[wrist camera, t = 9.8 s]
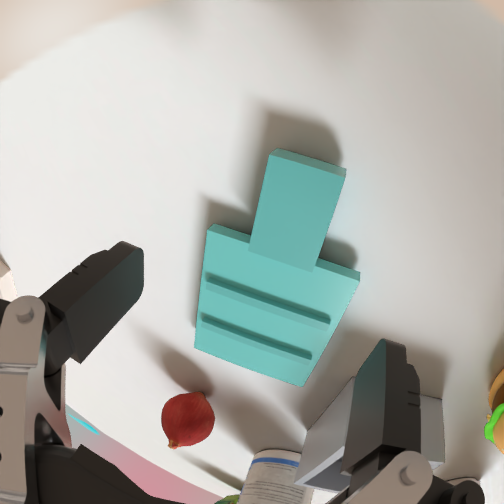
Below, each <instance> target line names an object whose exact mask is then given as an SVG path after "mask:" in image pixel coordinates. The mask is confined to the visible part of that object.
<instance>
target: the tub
mask: <svg viewBox="0 0 504 504" xmlns="http://www.w3.org/2000/svg"><path fill="white" fill-rule="evenodd" d="M355 379H356V377H352V378H351V380H350V381H349V382H348V383H347V385H346V386H345V387H344V388H343V390H342V391H341V392H340V394H339V395H338V396H337V397H336V398H335V400H334V401H333V402H332V403H331V405H330V406H329V407H328V408H327V409H326V411H325V412H324V413H323V414H322V415H321V416H320V418H319V419H318V420H317V421H316V422H315V423H314V424H313V426H312V427H311V428H310V429H309V430H308V431H307V435H306V439H305V443H304V447H303V450H302V454H301V458H300V462H299V465H298V469H297V472H296V476H295V479H294V483H293V484H296V485H301V486H305V487H309V488H314V489H318V490H323V491H328V492H333V493H340V492H341V491H342V490H343V489H344V488H346V487H347V486H348V485H350V480H351V476H348V475H343V474H340V470H341V465H342V462H335V461H337V460H338V459H339V458H341V457H342V456H343V454H344V449H345V443H346V437H347V431H348V425H349V418H350V411H351V404H352V396H353V388H354V382H355ZM419 397H420V403H421V406H420V408H421V454H422V455H423V456H424V457H425V458H426V459H427V460H428V462H429V463H430V465H431V468H432V470H433V469H435V468H437V467H438V466H440V465H442V464H443V463H445V442H444V422H443V408H442V399H438V398H433V397H429V396H424V395H419Z"/></svg>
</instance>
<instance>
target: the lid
mask: <svg viewBox="0 0 504 504" xmlns="http://www.w3.org/2000/svg"><path fill="white" fill-rule="evenodd" d="M345 175H346V169H345V168H342V167H339V166H336V165H333V164H330V163H327V162H323V161H320V160H317V159H314V158H311V157H307V156H304V155H301V154H297V153H294V152H290V151H287V150H283V149H280V148H276V149H275V150H274V151H273V152H272V153H270V154H269V158H268V162H267V167H266V171H265V176H264V180H263V185H262V189H261V194H260V198H259V203H258V207H257V212H256V216H255V221H254V225H253V230H252V234H251V235H248V234H245V233H242V232H239V231H236V230H233V229H230V228H226V227H223V226H220V225H217V224H214V223H213V225H212V226H211V227H210V228H209V229H208V230H207V237H206V244H205V252H204V260H203V268H202V277H201V285H200V294H199V303H198V313H197V323H196V333H195V343H194V348H196V349H198V350H201V351H203V352H206V353H208V354H211V355H213V356H216V357H218V358H221V359H223V360H226V361H228V362H231V363H234V364H236V365H239V366H242V367H244V368H247V369H250V370H253V371H255V372H258V373H261V374H264V375H267V376H270V377H272V378H275V379H278V380H281V381H284V382H287V383H290V384H294V385H297V386H300V387H303V385H304V384H305V382H306V380H307V379H308V377H309V375H310V374H311V372H312V370H313V369H314V367H315V365H316V363H317V362H318V360H319V358H320V356H321V355H322V353H323V351H324V349H325V347H326V346H327V344H328V342H329V340H330V338H331V337H332V335H333V333H334V331H335V329H336V327H337V325H338V323H339V322H340V320H341V318H342V316H343V314H344V312H345V310H346V308H347V306H348V304H349V302H350V300H351V298H352V296H353V294H354V292H355V290H356V288H357V286H358V284H359V282H360V272H358V271H355V270H352V269H349V268H346V267H343V266H340V265H337V264H334V263H331V262H328V261H326V260H323V259H320V258H318V256H319V253H320V250H321V247H322V245H323V242H324V239H325V236H326V233H327V231H328V228H329V225H330V222H331V219H332V216H333V213H334V210H335V207H336V204H337V201H338V198H339V195H340V192H341V189H342V186H343V183H344V180H345Z"/></svg>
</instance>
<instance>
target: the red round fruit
mask: <svg viewBox="0 0 504 504" xmlns="http://www.w3.org/2000/svg"><path fill="white" fill-rule="evenodd" d="M214 421H215V416H214V412H213V410H212V408H211V406H210V404H209V402H208V401H207V399H206V397H205V395H204V394H203V393H201V392H193V393H185V394H179V395H177V396H175V397H173V398H171V399H169V400H168V401H167V402H166V403H165V405H164V407H163V409H162V415H161V423H162V428H163V430H164V432H165V434H166V436H167V438H168V439H169V444H168V446H169V447H170V448H171V449H176V448H177V447H181V446H191V445H194V444H196V443H199V442H201V441H203V440H204V439H206V438H207V437H208V436H209V435H210V433H211V431H212V430H213V426H214Z"/></svg>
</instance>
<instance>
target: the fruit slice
mask: <svg viewBox="0 0 504 504" xmlns="http://www.w3.org/2000/svg"><path fill="white" fill-rule="evenodd" d="M239 496H240V495H230V496H226V497H225V498H224V499H222V500H220V501H217V502H216V503H215V504H237V501H238V498H239Z"/></svg>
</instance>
